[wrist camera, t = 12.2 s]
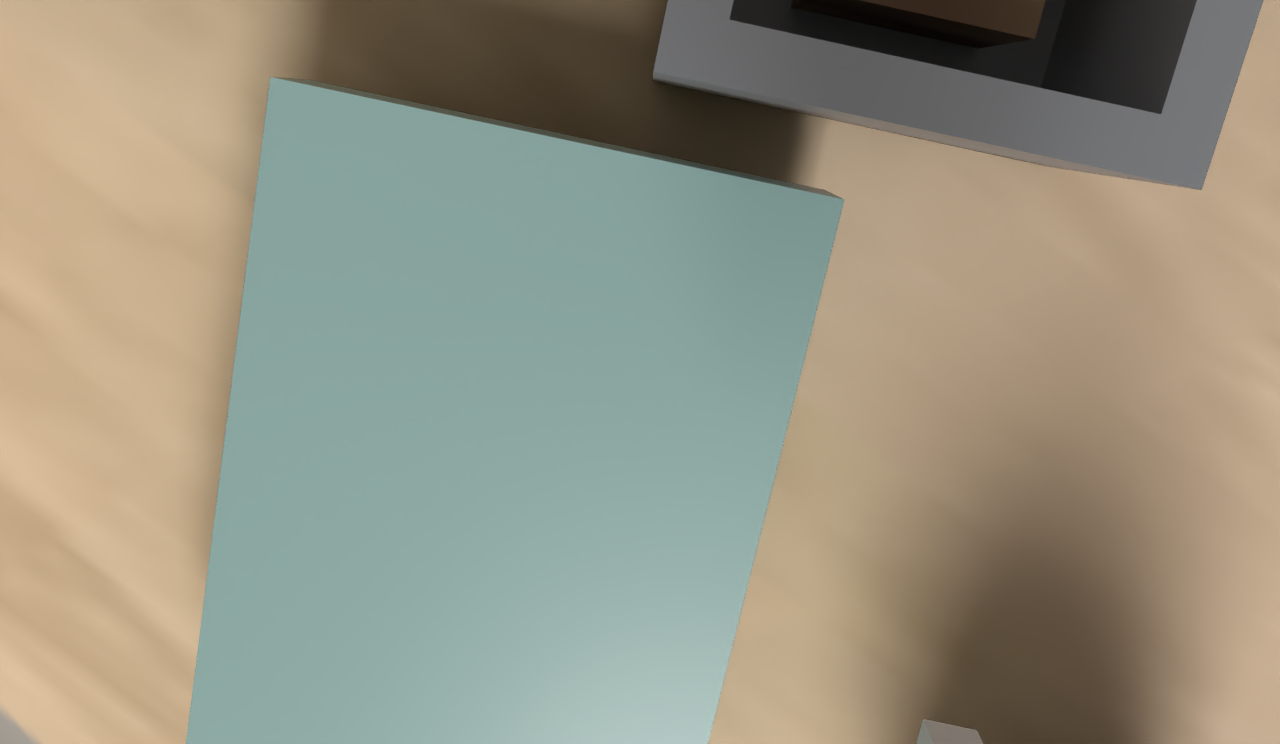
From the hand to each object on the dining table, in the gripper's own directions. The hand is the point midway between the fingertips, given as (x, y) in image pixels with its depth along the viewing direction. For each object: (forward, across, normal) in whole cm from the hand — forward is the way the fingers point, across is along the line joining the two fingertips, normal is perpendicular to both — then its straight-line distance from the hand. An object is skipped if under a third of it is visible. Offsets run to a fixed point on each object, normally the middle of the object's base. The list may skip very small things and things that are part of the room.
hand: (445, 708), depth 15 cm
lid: (+10, +1, 0) cm, 10 cm away
